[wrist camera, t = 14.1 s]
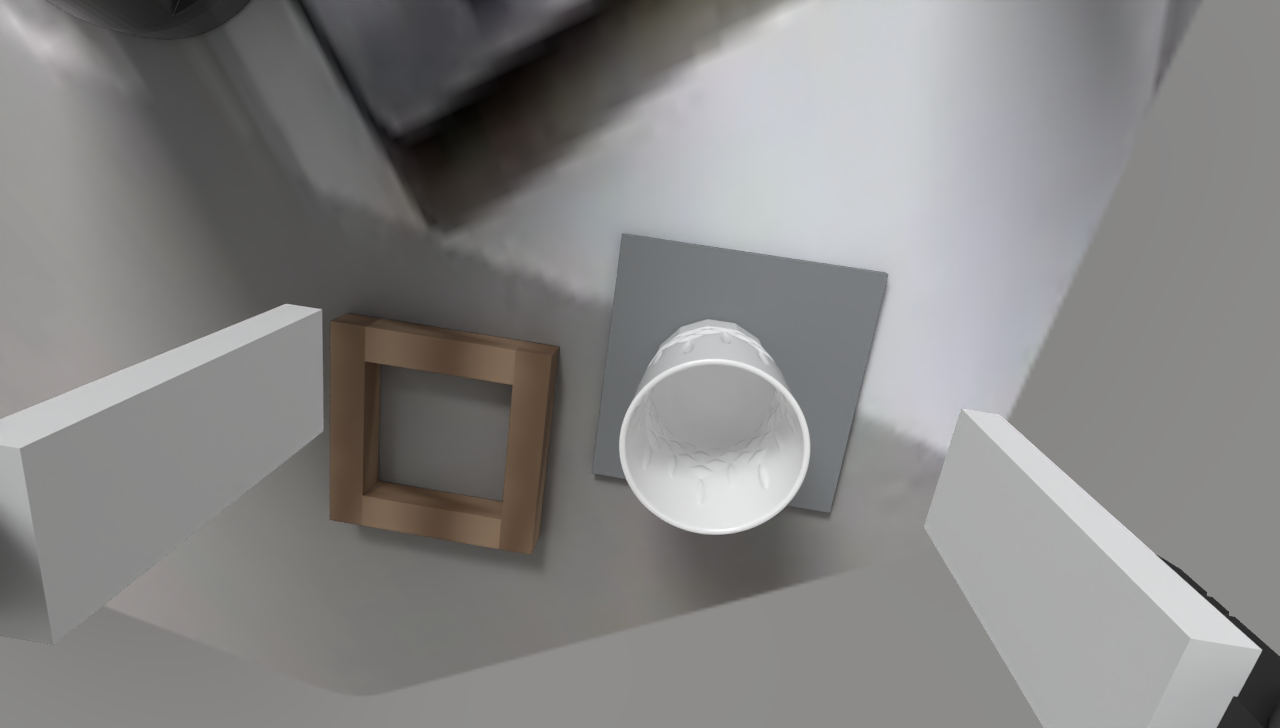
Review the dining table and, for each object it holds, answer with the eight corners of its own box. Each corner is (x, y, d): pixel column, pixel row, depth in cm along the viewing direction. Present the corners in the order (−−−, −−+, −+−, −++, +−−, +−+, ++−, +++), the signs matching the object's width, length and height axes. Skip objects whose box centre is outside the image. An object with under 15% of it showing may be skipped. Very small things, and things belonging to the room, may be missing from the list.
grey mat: (593, 468, 41) (591, 473, 40) (623, 233, 37) (622, 234, 36) (828, 507, 40) (829, 512, 39) (885, 272, 36) (888, 274, 35)
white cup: (670, 286, 36) (658, 330, 27) (807, 339, 37) (843, 402, 27) (620, 413, 39) (593, 495, 29) (749, 463, 39) (763, 561, 29)
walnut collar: (346, 504, 43) (329, 519, 41) (348, 313, 39) (330, 320, 37) (539, 537, 42) (531, 554, 40) (559, 346, 39) (551, 356, 37)
